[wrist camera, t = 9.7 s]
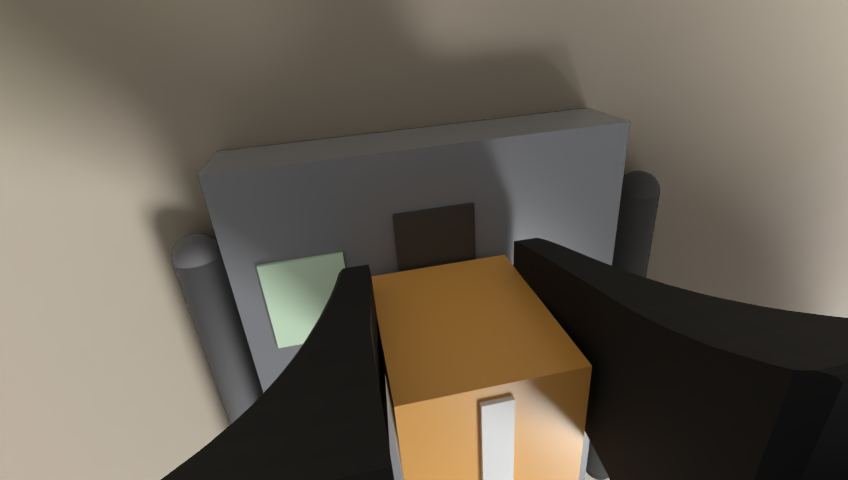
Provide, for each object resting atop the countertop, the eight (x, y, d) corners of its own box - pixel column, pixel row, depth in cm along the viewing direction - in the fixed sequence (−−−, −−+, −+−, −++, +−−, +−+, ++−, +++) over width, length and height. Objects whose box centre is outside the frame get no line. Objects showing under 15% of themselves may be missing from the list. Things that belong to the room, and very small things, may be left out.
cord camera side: (310, 527, 18) (309, 559, 17) (278, 535, 18) (276, 568, 17) (220, 223, 12) (210, 242, 11) (172, 230, 12) (158, 250, 11)
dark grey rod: (602, 457, 20) (618, 482, 19) (576, 464, 20) (590, 489, 19) (645, 163, 14) (672, 175, 13) (609, 168, 14) (633, 181, 13)
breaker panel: (556, 467, 20) (582, 514, 18) (319, 523, 18) (319, 581, 16) (587, 107, 13) (632, 122, 11) (216, 151, 11) (196, 176, 10)
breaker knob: (504, 346, 13) (580, 484, 9) (383, 370, 13) (410, 526, 9) (504, 254, 12) (595, 369, 8) (369, 277, 11) (394, 411, 7)
